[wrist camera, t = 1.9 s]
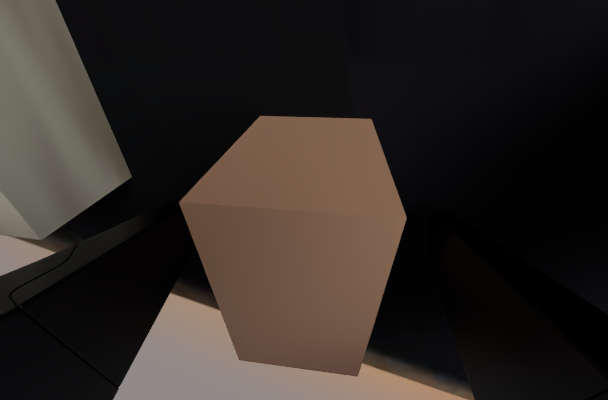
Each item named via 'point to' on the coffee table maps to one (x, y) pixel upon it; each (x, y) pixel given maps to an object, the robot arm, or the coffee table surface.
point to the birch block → (49, 125)
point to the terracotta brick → (299, 239)
